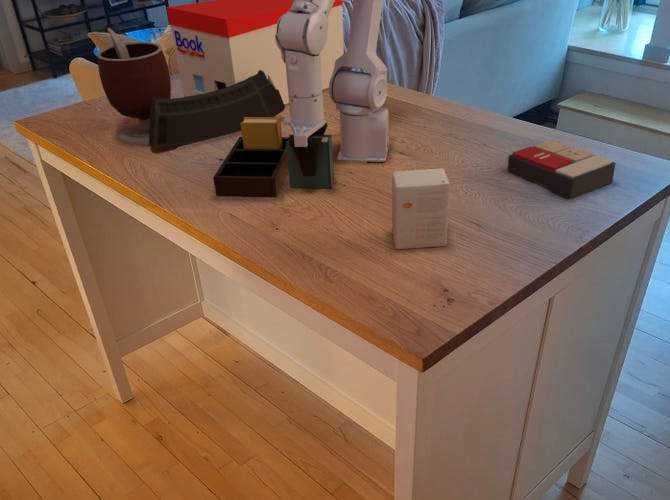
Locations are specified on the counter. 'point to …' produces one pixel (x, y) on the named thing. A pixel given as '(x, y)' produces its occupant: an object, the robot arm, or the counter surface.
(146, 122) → the mate gourd
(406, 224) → the small box
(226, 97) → the magazine
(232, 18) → the bookstore
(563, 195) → the red and beige box
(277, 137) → the mustard book
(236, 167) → the caddy
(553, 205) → the counter surface
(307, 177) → the teal book
